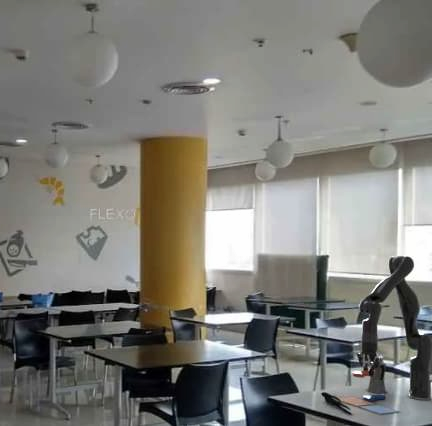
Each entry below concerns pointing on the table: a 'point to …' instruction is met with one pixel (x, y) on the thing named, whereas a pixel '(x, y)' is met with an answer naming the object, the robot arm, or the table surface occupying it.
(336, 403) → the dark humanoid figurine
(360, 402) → the terracotta mat
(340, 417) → the table surface
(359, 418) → the table surface
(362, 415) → the table surface
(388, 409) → the blue mat
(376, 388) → the coffeepot
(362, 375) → the terracotta spoon
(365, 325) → the robot arm
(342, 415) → the table surface
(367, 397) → the blue spoon
